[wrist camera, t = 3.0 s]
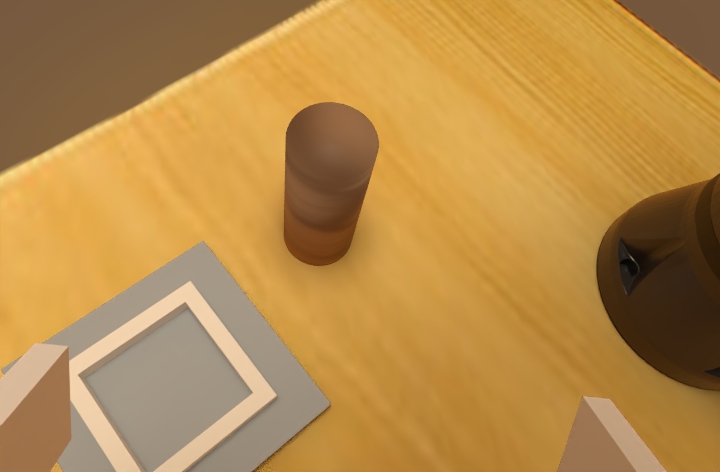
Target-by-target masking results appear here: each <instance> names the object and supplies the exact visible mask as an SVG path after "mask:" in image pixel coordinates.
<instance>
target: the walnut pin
mask: <svg viewBox="0 0 720 472" xmlns="http://www.w3.org/2000/svg"><path fill="white" fill-rule="evenodd" d="M378 148H379V140H378V135H377V132H376V130H375V128H374V126H373V124H372V123H371V122H370V120H369V119H368V118H367V117H366V116H365V115H364V114H362V113H361V112H360V111H358V110H356V109H354V108H352V107H350V106H347V105H344V104H340V103H333V102H325V103H318V104H314V105H311V106H309V107H307V108H305V109H303V110H301V111H300V112H299V113H298V114H296V115H295V117H294V118H293V119H292V120H291V122H290V124H289V126H288V128H287V132H286V152H285V200H284V240H285V243H286V246H287V248H288V249H289V251H290V252H291V253H292V254H293V256H295V257H296V258H297V259H299V260H300V261H302V262H304V263H307V264H310V265H317V266H320V265H328V264H331V263H334V262H336V261H337V260H339V259H340V258H342V257H343V256H344V255H345V254H346V252H347V251H348V249H349V247H350V244H351V241H352V238H353V234H354V231H355V228H356V224H357V221H358V217H359V214H360V211H361V207H362V204H363V201H364V197H365V194H366V190H367V187H368V184H369V180H370V177H371V174H372V170H373V167H374V163H375V160H376V157H377V153H378Z"/></svg>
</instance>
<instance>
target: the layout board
mask: <svg viewBox="0 0 720 472" xmlns="http://www.w3.org/2000/svg"><path fill="white" fill-rule="evenodd" d="M42 344H52V345H63V346H69V373H70V406H71V440H70V442H69V443H68V445H67V446H66V448H65V450H64V451H63V453H62V454H61V456H60V457H59V459H58V460H57V462H58V464H59V465H60V467H61V469H62V470H63V472H253V471H254V470H255V469H256V468H257V467H259V466H260V465H261V464H262V463H263V462H264V461H266V460H267V459H268V458H269V457H270V456H272V455H273V454H274V453H275V452H276V451H277V450H279V449H280V448H281V447H282V446H283V445H285V444H286V443H287V442H288V441H289V440H290V439H292V438H293V437H294V436H295V435H296V434H297V433H299V432H300V431H301V430H302V429H303V428H305V427H306V426H307V425H308V424H309V423H310V422H312V421H313V420H314V419H315V418H316V417H317V416H319V415H320V414H321V413H322V412H323V411H325V410H326V409H327V408H328V407H329V406H330V405H331V403H330V402H329V400H328V399H327V398H326V397H325V395H324V394H323V393H322V391H321V390H320V389H319V388H318V386H317V385H316V384H315V383H314V381H313V380H312V379H311V377H310V376H309V375H308V374H307V372H306V371H305V370H304V368H303V367H302V366H301V365H300V363H299V362H298V361H297V360H296V358H295V357H294V356H293V354H292V353H291V352H290V351H289V349H288V348H287V347H286V346H285V344H284V343H283V342H282V340H281V339H280V338H279V337H278V335H277V334H276V333H275V331H274V330H273V329H272V328H271V326H270V325H269V324H268V323H267V321H266V320H265V319H264V317H263V316H262V315H261V314H260V312H259V311H258V310H257V309H256V307H255V306H254V305H253V303H252V302H251V301H250V300H249V298H248V297H247V296H246V294H245V293H244V292H243V291H242V289H241V288H240V287H239V286H238V284H237V283H236V282H235V280H234V279H233V278H232V277H231V275H230V274H229V273H228V272H227V270H226V269H225V268H224V266H223V265H222V264H221V263H220V261H219V260H218V259H217V257H216V256H215V255H214V254H213V252H212V251H211V250H210V249H209V247H208V246H207V245H206V243H205V242H204V241H202V242H200V243H199V244H197V245H196V246H194V247H192V248H191V249H189V250H188V251H186V252H185V253H183V254H181V255H180V256H178V257H177V258H175V259H174V260H172V261H170V262H169V263H167V264H166V265H164V266H163V267H161V268H160V269H158V270H156V271H155V272H153V273H152V274H150V275H149V276H147V277H145V278H144V279H142V280H141V281H139V282H138V283H136V284H134V285H133V286H131V287H130V288H128V289H127V290H125V291H123V292H122V293H120V294H119V295H117V296H116V297H114V298H112V299H111V300H109V301H108V302H106V303H105V304H103V305H101V306H100V307H98V308H97V309H95V310H94V311H92V312H90V313H89V314H87V315H86V316H84V317H83V318H81V319H79V320H78V321H76V322H75V323H73V324H72V325H70V326H68V327H67V328H65V329H64V330H62V331H61V332H59V333H57V334H56V335H54V336H53V337H51V338H50V339H48V340H46V341H45V342H43V343H42ZM21 357H22V356H21ZM21 357H20V358H21ZM20 358H18V359H17V360H15V361H13V362H12V363H10V364H9V365H7V366H6V367H4V368H2V369H1V371H2V372H3V374H4V375H5V374H6V373H7V372H8V371H9V370H10V369H11V368H12V367H13V366H14V364H15V363H16V362H17V361H18V360H19V359H20Z"/></svg>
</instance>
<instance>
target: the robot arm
mask: <svg viewBox="0 0 720 472" xmlns="http://www.w3.org/2000/svg"><path fill="white" fill-rule="evenodd" d="M597 270H598V281H599V287H600V291H601V295H602V298H603V301H604V304H605V306H606V309H607V311H608V313H609V315H610V317H611V319H612V321H613V322H614V324H615V326H616V327H617V329H618V330H619V332H620V333H621V335H622V336H623V337H624V339H625V340H626V341H627V342H628V343H629V345H630V346H631V347H632V348H633V349H634V350H635V351H636V352H637V353H638V354H639V355H640V356H641V357H642V358H643V359H645V360H646V361H647V362H648V363H650V364H651V365H652V366H653V367H655V368H656V369H658V370H659V371H661V372H662V373H664V374H666V375H668V376H669V377H671V378H673V379H675V380H678V381H680V382H682V383H685V384H688V385H691V386H694V387H698V388H703V389H709V390H720V173H719V174H718V175H717V176H715V177H714V178H712V179H710V180H707V181H703V182H699V183H696V184H692V185H688V186H685V187H681V188H677V189H674V190H670V191H666V192H663V193H659V194H656V195H653V196H651V197H648V198H646V199H644V200H642V201H640V202H639V203H637V204H636V205H634V206H633V207H632V208H630V209H629V210H628V211H627V212H625V213H624V214H623V215H622V216H620V217H619V218H618V219H617V220H616V221H615V222H614V223H613V224H612V225H611V226H610V228H609V229H608V231H607V232H606V234H605V236H604V238H603V240H602V243H601V246H600V250H599V254H598V265H597ZM70 440H71V406H70V373H69V346H63V345H52V344H42V343H35V344H34V345H33V346H32V347H31V348H30V349H29V350H28V351H27V352H26V353H25V354H24V355H23V356H22V357H21V358H20V359H19V360H18V361H17V362H16V363H15V364H14V366H13V367H12V368H11V369H10V370H9V371H8V372H7V373H6V374H5V375H4V376H3V377H2V378H1V379H0V472H50V471H51V470H52V468H53V467H54V465H55V463H56V462H57V460H58V459H59V457H60V456H61V454H62V453H63V451H64V450H65V448H66V446H67V445H68V443H69V442H70ZM557 472H667V471H666V470H665V469H664V467H663V466H662V465H661V463H660V462H659V461H658V460H657V458H656V457H655V456H654V455H653V453H652V452H651V451H650V449H649V448H648V447H647V446H646V444H645V443H644V442H643V441H642V439H641V438H640V437H639V435H638V434H637V433H636V432H635V430H634V429H633V428H632V426H631V425H630V424H629V423H628V421H627V420H626V419H625V418H624V416H623V415H622V414H621V412H620V411H619V410H618V409H617V407H616V406H615V405H614V404H613V402H612V401H611V400H610V399H607V398H597V397H587V396H582V399H581V402H580V405H579V408H578V411H577V414H576V417H575V420H574V423H573V426H572V429H571V432H570V435H569V438H568V441H567V444H566V447H565V450H564V453H563V456H562V459H561V462H560V465H559V468H558V471H557Z"/></svg>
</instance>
